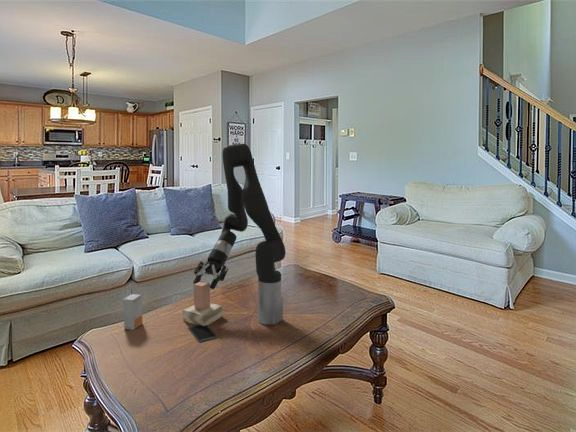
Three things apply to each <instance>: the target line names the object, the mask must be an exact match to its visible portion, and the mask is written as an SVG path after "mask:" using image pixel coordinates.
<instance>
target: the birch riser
mask: <svg viewBox="0 0 576 432" xmlns="http://www.w3.org/2000/svg"><path fill="white" fill-rule="evenodd" d="M222 317H223V306H222V305H219V304H217V303H216V304H215V303H213V302H212V303H211V302H210V307H208V308H206V309H204V310H200V309H196V308H194V304H192V305H190V306H187V307H186V308H184V309H182V319H183V322H186V323H189V324H192V325H193V324H194V325H202V326H206V325H208V326H209V325H210V324H213V323H214V322H215V321H217V320H219V319H221V318H222Z"/></svg>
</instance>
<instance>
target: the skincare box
mask: <svg viewBox="0 0 576 432" xmlns="http://www.w3.org/2000/svg"><path fill="white" fill-rule="evenodd" d="M142 304H143V303H142V294H134V293H132V294H130V295H128V296H126V297H124V298H123V299H122V305H123V310H122V311H123V325H124V329H125V330H132V331H133V330H135V329H136V328H138V327H139V326H141V325H142V324H143V305H142Z"/></svg>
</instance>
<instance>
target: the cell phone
mask: <svg viewBox="0 0 576 432" xmlns="http://www.w3.org/2000/svg"><path fill="white" fill-rule="evenodd" d="M187 329H188V331H189V332H190V333H191V335H192V337H194V338H195V340H196V341H197V342H198V343H204V342H208V341H211V340H216V339H218V336H217V334H216V333H215V332H214V331H213V330H212V329H211V327H209V325H206V326H202V325H196V324H194V325H192V326H188V327H187Z"/></svg>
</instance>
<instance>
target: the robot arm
mask: <svg viewBox="0 0 576 432" xmlns="http://www.w3.org/2000/svg"><path fill="white" fill-rule="evenodd" d="M221 157H222V164H223V171H224V177H225V182H226V188H227V208H228V211H229V212H230V213H228V214H227V215H226V216H225V217H224V220H223V225H222V230H221V233H220V236H219V238H218V239H217V242H215V244H214V246H213V247H212V249H211V251H210V253H209V255H208V257H207V261H206V262H203V261H199V263H198V264H197V267H196V268H195V269H194V272H193V274H194V275H195V278H194V279H193V283H192V284H193V285H194V284H196V283H198V282H201V280H202V278H203V277H204V276H207V275H209V276H211V275H212V276H213V277H214V278H213V279H212V281H211V283H210V290H215V288H216V287H217V285H218V283H219V282H223V281H224V280H225V278H226V276H227V273H228V271H229V268H228V267H227V265H226V262H227V261H228V258H229V256H230V255H231V253H232V252H231V251H232V249H233V246H234V245H235V243H236V242H237V241H236V240H237V235H236V234H235V233H234V232H233V231H236V232H245V231H246V230H247V228H248V224H249V220H248V217H249V219H250V220H251V221H252V222H253V223H254V224H255V225H256V226H257V227H258V228H259V229H260V231H261V232H262V235H263V237H264V239H265V240H264V241H261V242H259V243H258V244H257V245H256V247H255V270H256V271H255V272H256V275H257V292H258V293H257V321H258V322H259V323H260V324H261V325H269V326H270V325H271V326H276V325H278V324H279V323H280V322H282V321H283V320H282V319H283V318H284V298H283V297H282V273H281V271H279V270H277V269H275V268H274V267H275V266H274V264H275V263H279V262H280V261H282V260H284V259H285V257H286V246H285V243H284V241H283V239H282V237H281V235H280V233H279V231H278V228H277V226H276V224H275V221H274V219H273V217H272V216H273V215H272V213H271V211H270V208H269V205H268V202H267V199H266V196H265V194H264V191H263V188H262V186H261V183H260V180H259V177H258V173H257V171H256V170H257V169H256V166H255V161H254V158H253V154H252V152H251V149H250V147H249V146H248V145H247V143H237V144H236V143H235V144H229V145H225V146H224V147H223V148H222V153H221ZM237 167H238V168H239V167H243V170H244V175H245V181H244V185H243V188H242V186H241V185H240V183H239V181H238V179H236V177H235V174H234V173H235V172H234V168H237ZM247 216H248V217H247ZM231 230H232V231H231ZM281 320H282V321H281Z"/></svg>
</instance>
